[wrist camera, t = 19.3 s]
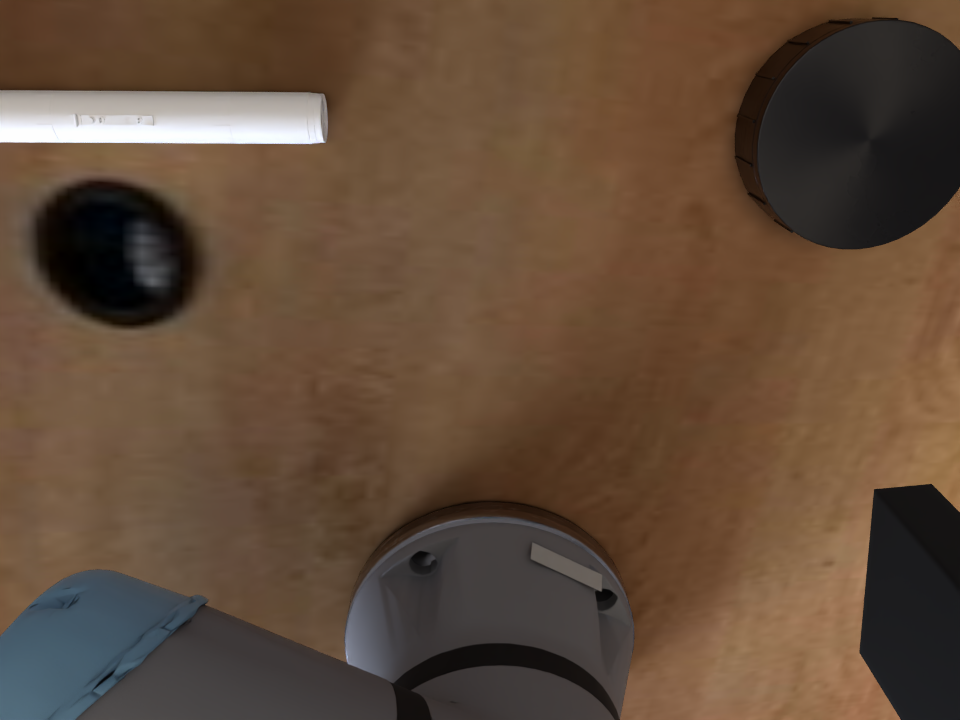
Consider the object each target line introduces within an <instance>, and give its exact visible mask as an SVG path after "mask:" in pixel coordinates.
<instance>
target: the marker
mask: <svg viewBox="0 0 960 720" xmlns="http://www.w3.org/2000/svg"><path fill="white" fill-rule="evenodd" d="M327 134H328V114H327V104H326V99H325V95H324V94H322V93H320V94H317V93H311V92H196V91H52V90H0V142H73V143H254V144H313V143H325V142H326V140H327Z"/></svg>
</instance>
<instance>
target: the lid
mask: <svg viewBox="0 0 960 720" xmlns="http://www.w3.org/2000/svg"><path fill="white" fill-rule="evenodd" d="M737 117H738V119H737V125H736V133H735V152H736V156H735V159H736V160H737V165H738V169H739V172H740V176H741V178H742V180H743V183H744V185H745V187H746V189H747V190H748V192H749V193H748V195H749V196H750V197H752V198H753V199H754V201H755V202H756V203H757V204H758V205H759V206H760V208H762V209H763V210H764V211H765V212H766V213H767V214H768V215H770V216H771V217H773V218H774V221H775V222H777V223H778V224H779V225H781V226H782V227H784V228H785V229H787V230H788V231H790V232H791V233H792V232H795V233H797V234H798V235H800V236H801V237H803V238H805V239H807V240H809V241H811V242H813V243H816V244H819V245H823V246H826V247H830V248H837V249H863V248H871V247H875V246H879V245H883V244H886V243H889V242H892V241H894V240H897V239H899V238H901V237H903V236H905V235H907V234H909V233H911V232H913V231H914V230H916V229H917V228H919V227H921V226H922V225H924V224H925V223H926V222H928V221H929V220H930V219H931V218H932V217H934V216H935V215H936V214H937V213H938V212H939V211H940V210H941V209H942V208H943V207H944V206H945V205H946V204H947V203H948V202H949V201H950V199H951V198H952V197H953V195H954V194H955V193H956V192H957V190H958V189H959V187H960V50H959V49H958V48H957V47H956V46H955V45H954V44H953V43H952V42H951V41H949V40H948V39H947V38H945V37H944V36H943V35H941V34H940V33H938V32H936V31H934V30H932V29H930V28H928V27H926V26H923V25H920V24H917V23H914V22H909V21H902V20H898V18H874V17H872V19H843V20H829V22H828V23H824V24H821V25H819V26H816V27H814V28H811V29H809V30H807V31H805V32H803V33H801V34H800V35H798V36H796V37H794V38H793V39H792V40H791V39H789V40H788V43H786V44H785V45H783V46H782V47H781V48H780V49H779V50H778V51H777V52H776V53H775V54H773V55H772V56H771V57H770V59H769V60H768V61H767V62H766V63H765V64H764V65H763V67H762V68H761V69H760V71H759V72H758V73H756V77H755V78H754V79H753V81H752V83H751V85H750V87H749V89H748V91H747V92H746V94H745V97H744V100H743V102H742V105H741V108H740V111H739V114H738V115H737Z"/></svg>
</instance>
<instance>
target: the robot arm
mask: <svg viewBox="0 0 960 720" xmlns="http://www.w3.org/2000/svg"><path fill="white" fill-rule="evenodd" d="M207 602H208V599H207V598H205V597H203V596H200V595H194V596H191V597H187V596H184V595H181V594H178V593H176V592H173V591H170V590H167V589H164V588H161V587H159V586H156V585H153V584H150V583H147V582H144V581H141V580H139V579H136V578H133V577H130V576H127V575H124V574H122V573H119V572H115V571H110V570H88V571H83V572H79V573H76V574H73V575H71V576H69V577H67V578H64V579H63V580H61V581H59V582H58V583H56V584H55V585H53V586H52V587H50V588H49V589H48V590H46V591H45V592H44V593H43V594H42V595H40V596H39V597H38V598H37V599H36V600H35V601H34V602H33V603H32V604H30V605H29V606H28V607H27V608H26V609H25V610H24V611H23V612H22V613H21V614H20V615H19V617H18V618H17V619H16V620H15V621H14V622H13V623H12V624H11V625H10V626H9V627H8V628H7V630H6V631H5V632H4V633H3V634H2V635H1V636H0V720H620V716H621V710H622V705H623V700H624V695H625V689H626V684H627V679H628V673H629V668H630V663H631V658H632V653H633V647H634V623H633V616H632V612H631V609H630V605H629V601H628V598H627V594H626V591H625V587H624V584H623V581H622V579H621V576H620V574H619V572H618V570H617V568H616V566H615V565H614V563H613V561H612V560H611V558H610V557H609V556H608V554H607V553H606V552H605V550H604V549H603V548H602V547H601V546H600V545H599V544H598V543H597V542H596V541H595V540H594V539H593V538H592V537H591V536H589V535H588V534H587V533H586V532H584V531H583V530H581V529H580V528H579V527H577V526H576V525H574V524H572V523H570V522H569V521H567V520H565V519H563V518H561V517H559V516H557V515H554V514H552V513H549V512H546V511H544V510H541V509H537V508H533V507H529V506H525V505H519V504H513V503H501V502H481V503H470V504H464V505H458V506H453V507H449V508H446V509H442V510H439V511H436V512H433V513H430V514H428V515H425V516H423V517H421V518H419V519H417V520H415V521H413V522H411V523H410V524H408V525H406V526H404V527H403V528H401V529H400V530H399V531H397V532H396V533H394V534H393V535H392V536H390V537H389V538H388V539H387V540H386V541H385V542H384V543H382V544H381V546H380V547H379V548H378V549H377V550H376V551H375V552H374V553H373V554H372V556H371V557H370V558H369V560H368V561H367V562H366V564H365V565H364V567H363V569H362V571H361V572H360V574H359V576H358V578H357V581H356V583H355V585H354V589H353V592H352V595H351V600H350V605H349V611H348V616H347V622H346V627H345V653H346V658H347V663H345V662H343V661H340V660H338V659H335V658H333V657H331V656H328V655H326V654H323V653H321V652H318V651H316V650H313V649H311V648H309V647H306V646H304V645H301V644H299V643H296V642H294V641H292V640H289V639H287V638H284V637H282V636H279V635H277V634H274V633H272V632H270V631H267V630H265V629H262V628H260V627H257V626H255V625H253V624H250V623H248V622H245V621H243V620H240V619H238V618H236V617H233V616H231V615H228V614H226V613H223V612H221V611H218V610H216V609H214V608H211V607H209V606H206V605H205V604H206V603H207ZM860 654H861V656H862V657H863V659H864V661H865V662H866V664H867V665H868V667H869V669H870V670H871V672H872V674H873V675H874V677H875V678H876V680H877V682H878V683H879V685H880V686H881V688H882V690H883V691H884V693H885V695H886V696H887V698H888V699H889V701H890V703H891V704H892V706H893V707H894V709H895V711H896V712H897V714H898V716H899V717H900V719H901V720H960V512H959V511H958V510H957V509H956V508H955V507H954V506H953V505H952V504H951V503H950V502H949V501H948V500H947V499H946V498H945V497H944V496H943V495H942V494H941V493H940V492H939V491H938V490H937V489H936V488H935V487H934V486H933V485H932V484H927V485H916V486H905V487H894V488H884V489H874V497H873V508H872V519H871V531H870V542H869V553H868V564H867V575H866V586H865V597H864V608H863V619H862V630H861V642H860Z"/></svg>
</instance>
